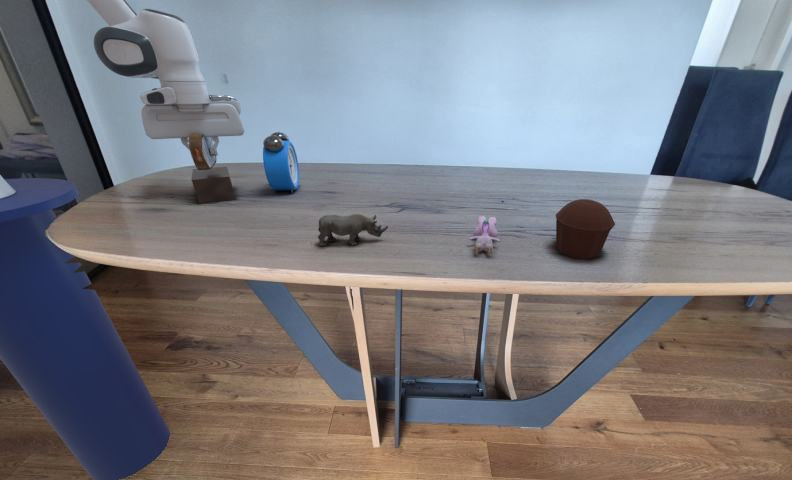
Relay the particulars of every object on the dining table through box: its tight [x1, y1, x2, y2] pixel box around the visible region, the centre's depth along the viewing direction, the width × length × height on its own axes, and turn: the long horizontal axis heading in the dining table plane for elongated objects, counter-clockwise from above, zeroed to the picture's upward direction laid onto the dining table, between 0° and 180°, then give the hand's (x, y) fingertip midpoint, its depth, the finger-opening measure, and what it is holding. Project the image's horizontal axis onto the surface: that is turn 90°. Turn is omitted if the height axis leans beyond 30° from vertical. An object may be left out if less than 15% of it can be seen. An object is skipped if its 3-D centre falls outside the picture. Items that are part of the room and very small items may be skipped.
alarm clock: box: [262, 131, 300, 194], centre depth 101 cm, size 13×6×15 cm, turn 11°
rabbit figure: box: [468, 215, 501, 256], centre depth 76 cm, size 6×6×15 cm
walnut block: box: [191, 166, 237, 205], centre depth 97 cm, size 8×12×6 cm, turn 31°
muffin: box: [555, 198, 616, 260], centre depth 73 cm, size 12×11×10 cm
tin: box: [188, 133, 217, 170], centre depth 93 cm, size 15×3×8 cm, turn 22°
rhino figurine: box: [317, 213, 389, 247], centre depth 74 cm, size 4×14×6 cm, turn 101°
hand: (205, 155), depth 93 cm, fingers closed on tin, 3 cm apart
